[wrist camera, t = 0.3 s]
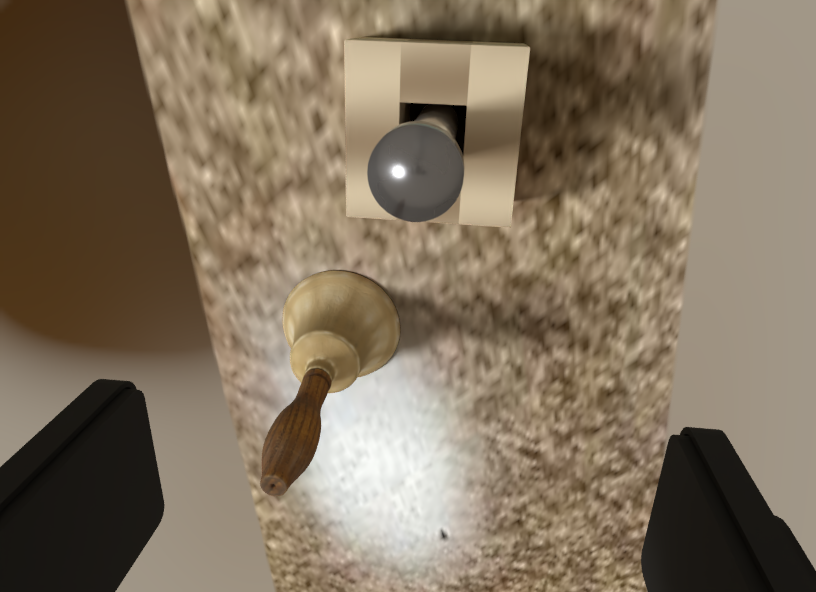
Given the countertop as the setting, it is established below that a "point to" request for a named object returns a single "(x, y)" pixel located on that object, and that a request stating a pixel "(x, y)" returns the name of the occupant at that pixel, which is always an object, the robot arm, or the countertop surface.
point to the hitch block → (438, 84)
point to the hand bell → (325, 361)
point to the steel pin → (418, 166)
